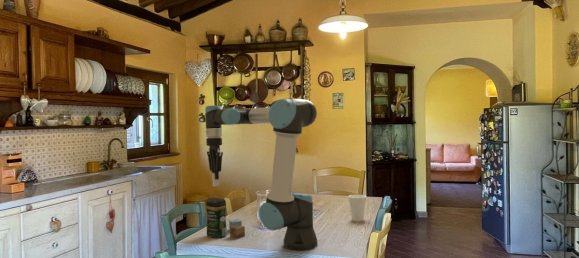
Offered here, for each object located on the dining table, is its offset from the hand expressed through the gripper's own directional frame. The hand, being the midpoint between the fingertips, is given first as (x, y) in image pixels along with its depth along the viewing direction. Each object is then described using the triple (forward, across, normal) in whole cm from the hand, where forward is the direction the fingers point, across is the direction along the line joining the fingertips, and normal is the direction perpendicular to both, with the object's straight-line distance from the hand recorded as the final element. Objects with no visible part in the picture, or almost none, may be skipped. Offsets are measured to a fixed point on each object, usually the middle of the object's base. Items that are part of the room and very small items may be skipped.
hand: (215, 185), depth 193 cm
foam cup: (+25, +23, +73) cm, 80 cm away
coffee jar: (+25, -1, 0) cm, 25 cm away
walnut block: (+25, +7, +7) cm, 27 cm away
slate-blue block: (+25, -4, +12) cm, 28 cm away
